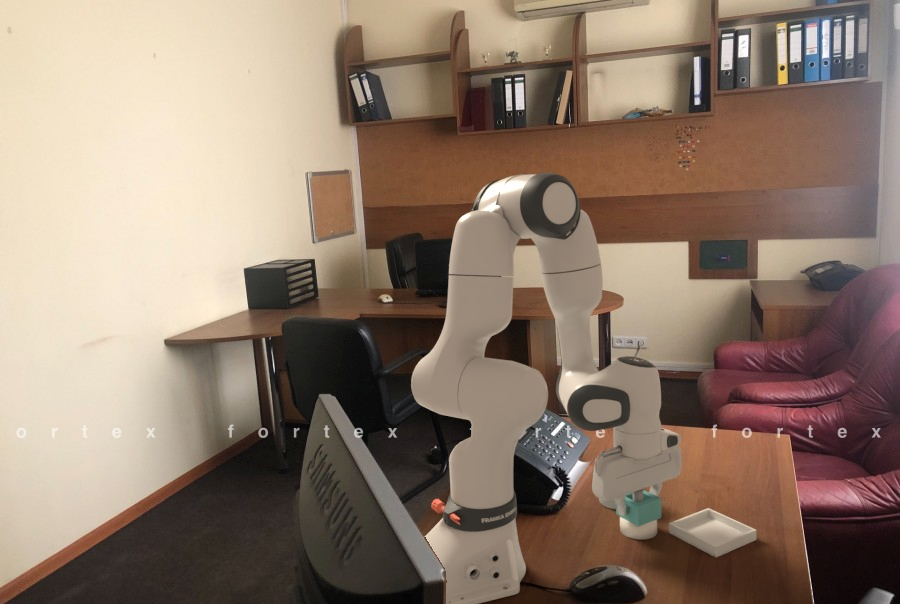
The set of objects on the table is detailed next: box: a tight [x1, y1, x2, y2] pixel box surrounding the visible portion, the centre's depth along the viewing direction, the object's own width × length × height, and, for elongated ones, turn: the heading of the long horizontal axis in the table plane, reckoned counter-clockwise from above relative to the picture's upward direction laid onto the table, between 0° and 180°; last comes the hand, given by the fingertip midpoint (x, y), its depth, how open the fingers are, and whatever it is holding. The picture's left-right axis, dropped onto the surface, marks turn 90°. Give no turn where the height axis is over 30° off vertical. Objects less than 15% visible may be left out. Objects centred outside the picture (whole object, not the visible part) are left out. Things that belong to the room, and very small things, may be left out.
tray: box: [668, 507, 758, 558], centre depth 131 cm, size 11×11×2 cm
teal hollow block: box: [615, 489, 662, 526], centre depth 134 cm, size 6×8×4 cm
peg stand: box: [619, 489, 658, 541], centre depth 134 cm, size 7×7×8 cm
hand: (637, 508), depth 134 cm, fingers closed on teal hollow block, 6 cm apart
